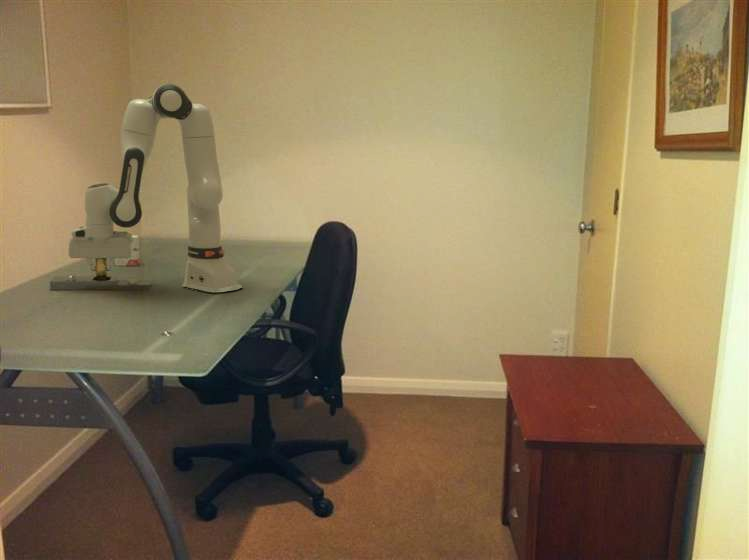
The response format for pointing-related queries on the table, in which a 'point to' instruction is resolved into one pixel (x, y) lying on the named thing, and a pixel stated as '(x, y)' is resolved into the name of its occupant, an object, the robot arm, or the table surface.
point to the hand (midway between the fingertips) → (101, 270)
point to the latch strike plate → (96, 283)
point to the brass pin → (101, 268)
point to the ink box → (134, 257)
